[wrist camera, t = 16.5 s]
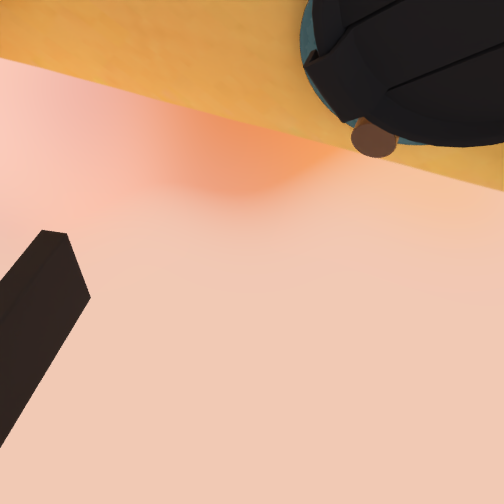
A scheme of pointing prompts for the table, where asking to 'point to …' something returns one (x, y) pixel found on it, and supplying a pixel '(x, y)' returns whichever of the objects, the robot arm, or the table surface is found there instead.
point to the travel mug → (413, 67)
